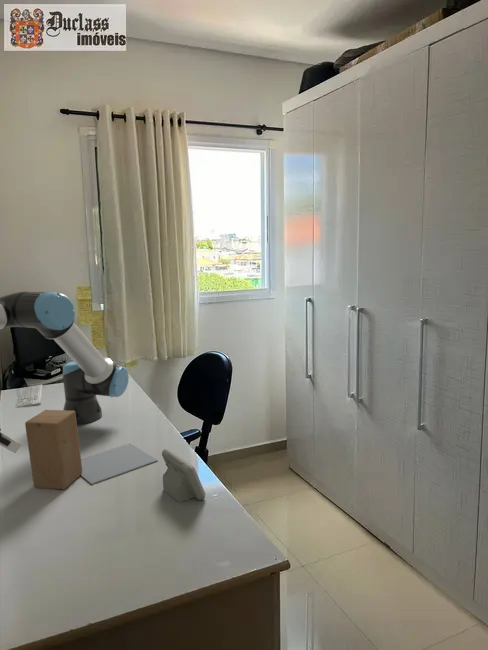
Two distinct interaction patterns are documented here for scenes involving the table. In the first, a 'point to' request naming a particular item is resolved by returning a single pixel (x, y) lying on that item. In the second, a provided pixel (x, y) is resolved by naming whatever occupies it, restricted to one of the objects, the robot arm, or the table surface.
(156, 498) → the table surface
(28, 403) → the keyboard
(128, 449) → the grey mat
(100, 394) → the robot arm
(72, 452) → the wooden block
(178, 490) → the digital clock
